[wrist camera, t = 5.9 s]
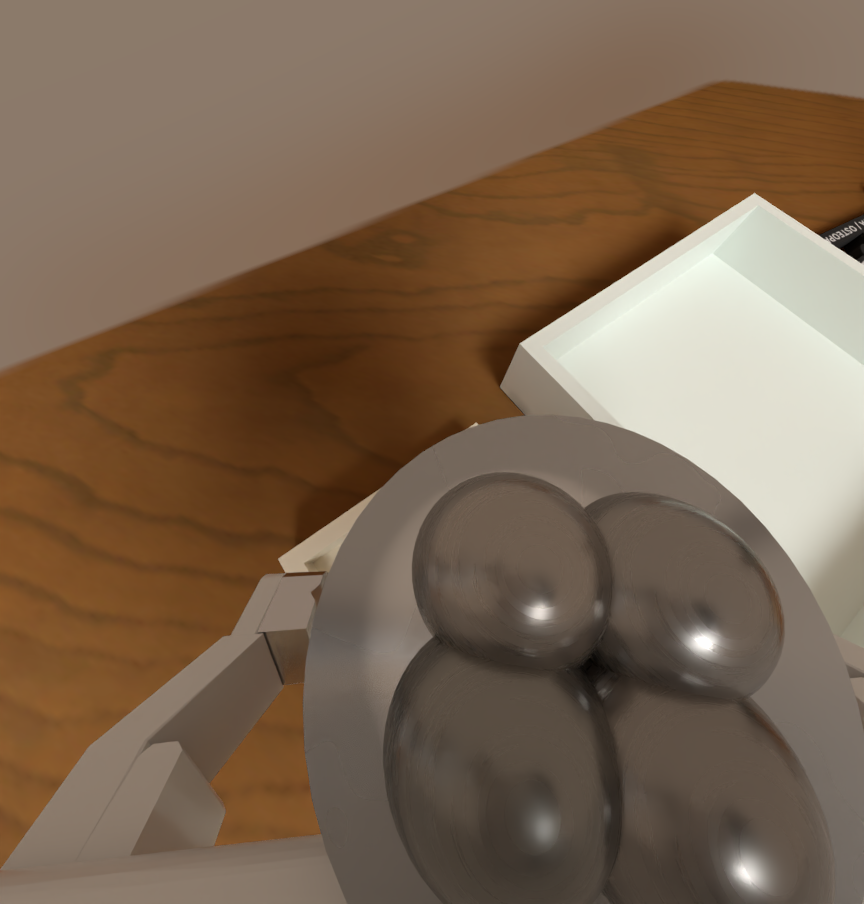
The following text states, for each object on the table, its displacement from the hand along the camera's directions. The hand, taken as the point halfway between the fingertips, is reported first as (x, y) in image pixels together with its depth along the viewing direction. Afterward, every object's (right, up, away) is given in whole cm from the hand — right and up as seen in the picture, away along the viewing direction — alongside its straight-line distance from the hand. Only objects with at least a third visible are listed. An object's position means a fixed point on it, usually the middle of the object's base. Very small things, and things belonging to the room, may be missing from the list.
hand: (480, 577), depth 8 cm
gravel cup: (0, -3, +6) cm, 7 cm away
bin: (+17, +5, +10) cm, 20 cm away
